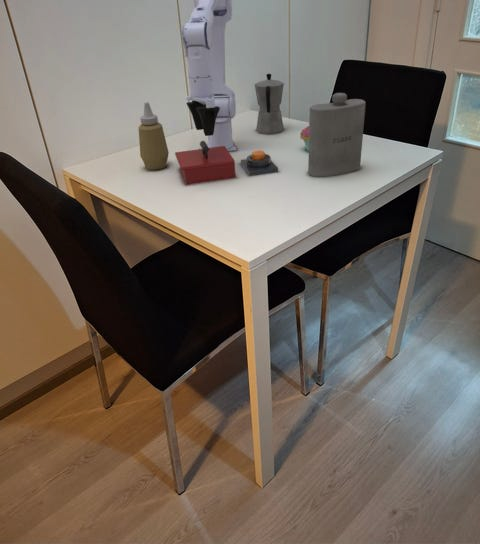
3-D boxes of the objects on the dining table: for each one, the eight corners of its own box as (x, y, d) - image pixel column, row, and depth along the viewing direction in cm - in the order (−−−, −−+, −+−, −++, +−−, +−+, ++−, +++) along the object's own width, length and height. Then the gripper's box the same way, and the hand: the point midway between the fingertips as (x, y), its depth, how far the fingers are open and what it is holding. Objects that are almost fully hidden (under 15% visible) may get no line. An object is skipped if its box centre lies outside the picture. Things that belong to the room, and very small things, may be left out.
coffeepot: (257, 124, 170) (255, 70, 160) (284, 123, 168) (284, 68, 159) (254, 138, 157) (252, 80, 147) (283, 138, 156) (283, 79, 146)
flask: (314, 179, 126) (317, 100, 115) (305, 172, 130) (306, 95, 120) (365, 169, 129) (372, 92, 119) (354, 162, 134) (360, 87, 123)
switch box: (240, 163, 138) (240, 153, 137) (267, 159, 140) (267, 149, 138) (249, 176, 130) (249, 165, 129) (277, 172, 132) (277, 161, 130)
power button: (250, 157, 135) (250, 151, 134) (263, 155, 135) (262, 149, 134) (253, 161, 132) (253, 155, 131) (266, 160, 132) (266, 153, 132)
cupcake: (330, 153, 141) (332, 112, 135) (301, 155, 142) (301, 113, 135) (326, 144, 148) (328, 104, 142) (298, 145, 149) (299, 105, 142)
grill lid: (181, 170, 125) (179, 154, 123) (175, 155, 135) (173, 140, 133) (234, 163, 128) (233, 147, 125) (224, 148, 138) (223, 133, 136)
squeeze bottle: (165, 172, 136) (155, 106, 126) (138, 171, 138) (126, 106, 128) (174, 161, 143) (165, 99, 133) (148, 161, 144) (138, 99, 135)
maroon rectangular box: (186, 185, 128) (184, 170, 125) (180, 168, 138) (178, 154, 136) (235, 177, 130) (234, 163, 128) (225, 162, 140) (224, 148, 138)
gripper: (177, 75, 125) (182, 128, 131) (192, 81, 113) (197, 140, 119) (203, 72, 127) (207, 125, 133) (221, 78, 115) (224, 136, 121)
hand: (204, 132), depth 126 cm, fingers open, 7 cm apart
